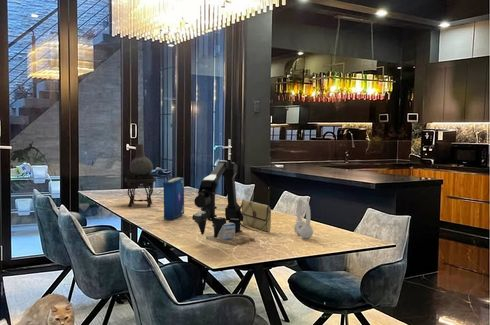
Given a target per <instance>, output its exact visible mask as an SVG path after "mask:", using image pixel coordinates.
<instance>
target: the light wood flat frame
mask: <svg viewBox="0 0 490 325" xmlns="http://www.w3.org/2000/svg"><path fill="white" fill-rule="evenodd" d="M239 235H240V234H236V233H235V236H239ZM205 238H206V240H210V241H214V242H219V243H223V244H226V245H232V246H235V247H236V246H238V244H237V243H236V242H232V240H224V239H219V233H218V236H217V238H214V234H209V235H206V237H205ZM249 242H256V238H255V237H250V236H249Z"/></svg>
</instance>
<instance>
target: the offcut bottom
mask: <svg viewBox="0 0 490 325" xmlns="http://www.w3.org/2000/svg"><path fill="white" fill-rule="evenodd" d="M231 241H232V240H231ZM232 242H235V241H232ZM249 242H250V241H245V242H239V243H238V242H236V243H237V245H242V244H246V243H249Z"/></svg>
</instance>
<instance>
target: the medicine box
mask: <svg viewBox="0 0 490 325" xmlns="http://www.w3.org/2000/svg"><path fill="white" fill-rule="evenodd" d="M235 234H236V233H235V223H229V222H226V224H224V225H223V226H222V228H221V229H220V231H219V237H218V238H219V239H224V240H228V241H232V237H234V236H235Z"/></svg>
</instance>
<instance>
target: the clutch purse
mask: <svg viewBox="0 0 490 325" xmlns="http://www.w3.org/2000/svg"><path fill="white" fill-rule="evenodd" d="M239 206H240V210H241V212H242V214H243V221H241V222H242V223H241V222H240V226H242V227H243V228H246V229H248V230H250V231H253V232H257V230H255V229H258V232H259V231H261V230H262V231H265V232H268V233H269V232H271V223H272V222H271V221H272V220H271V219H272V218H271V217H272V206H271V205H267V204H263V203H259V202H255V201H252V200H246V199H243V200H241V204H240V205H239ZM245 225H247V226H245ZM248 226H249V227H252V228H255V229H251V228H249V227H248Z"/></svg>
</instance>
